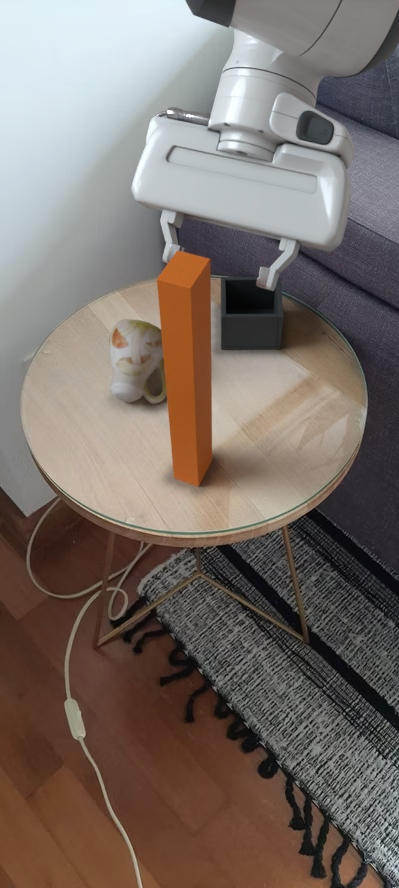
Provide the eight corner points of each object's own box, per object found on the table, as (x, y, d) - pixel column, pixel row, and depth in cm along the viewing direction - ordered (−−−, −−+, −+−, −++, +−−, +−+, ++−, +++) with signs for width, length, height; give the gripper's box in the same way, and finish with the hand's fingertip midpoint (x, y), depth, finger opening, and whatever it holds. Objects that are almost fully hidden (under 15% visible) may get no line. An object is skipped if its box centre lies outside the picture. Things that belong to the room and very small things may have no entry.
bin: (277, 309, 94) (280, 276, 89) (280, 349, 89) (283, 316, 85) (220, 309, 94) (220, 276, 90) (220, 349, 89) (221, 317, 85)
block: (212, 460, 79) (210, 258, 56) (198, 486, 76) (190, 288, 54) (188, 451, 79) (177, 250, 57) (173, 478, 77) (156, 278, 55)
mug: (97, 411, 84) (82, 331, 80) (132, 385, 92) (120, 311, 88) (153, 412, 81) (140, 329, 77) (183, 385, 89) (173, 309, 85)
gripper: (142, 90, 62) (104, 244, 64) (366, 133, 56) (316, 299, 59) (166, 115, 68) (131, 255, 70) (370, 156, 62) (325, 306, 65)
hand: (217, 276), depth 64 cm, fingers open, 8 cm apart
